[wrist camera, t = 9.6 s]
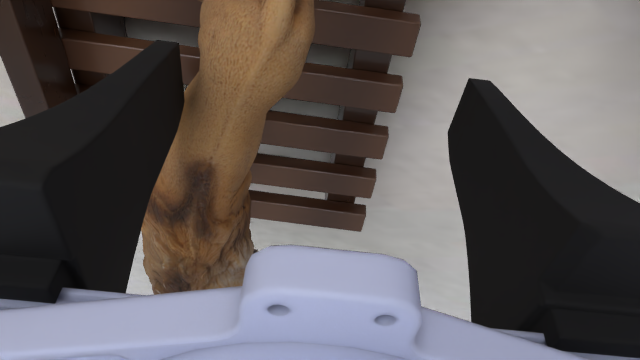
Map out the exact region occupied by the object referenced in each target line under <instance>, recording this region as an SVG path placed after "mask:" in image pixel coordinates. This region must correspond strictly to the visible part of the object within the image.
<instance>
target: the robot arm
mask: <svg viewBox="0 0 640 360" xmlns="http://www.w3.org/2000/svg"><path fill="white" fill-rule="evenodd" d="M184 103H185V99H184V88H183V78H182V68H181V58H180V48H179V43H177V42H169V41H161V40H156V41H155V42H153V43H152V44H151V45H149V46H148V47H147V48H145V49H144V50H143V51H141V52H140V53H139V54H137V55H136V56H135V57H134V58H132V59H131V60H130V61H128V62H127V63H125V64H124V65H123V66H121V67H120V68H119V69H117V70H116V71H114V72H113V73H112V74H110V75H109V76H107V77H105V78H104V79H102V80H101V81H99V82H98V83H96V84H95V85H93V86H92V87H90V88H88V89H87V90H85V91H83V92H82V93H80V94H78V95H76V96H74V97H73V98H71V99H69V100H67V101H65V102H63V103H61V104H59V105H57V106H54V107H52V108H50V109H47V110H45V111H43V112H40V113H38V114H35V115H33V116H30V117H28V118H26V119H23V120H20V121H18V122H15V123H12V124H9V125H6V126H3V127H0V360H640V203H638V202H636V201H634V200H633V199H631V198H629V197H627V196H625V195H623V194H622V193H620V192H618V191H617V190H615V189H613V188H612V187H610V186H608V185H607V184H605V183H604V182H602V181H601V180H599V179H598V178H596V177H595V176H593V175H591V174H590V173H589V172H587V171H586V170H584V169H583V168H582V167H580V166H579V165H578V164H576V163H575V162H574V161H572V160H571V159H570V158H569V157H567V156H566V155H565V154H563V153H562V152H561V151H560V150H559V149H557V148H556V147H555V146H554V145H553V144H552V143H551V142H550V141H549V140H547V139H546V138H545V137H544V136H543V135H542V134H541V133H540V132H539V131H538V130H537V129H536V128H535V127H534V126H533V125H532V124H531V123H530V122H529V121H528V120H527V119H526V118H525V117H524V116H523V115H522V114H521V113H520V112H519V111H518V110H517V109H516V108H515V106H514V105H513V104H512V103H511V102H510V101H509V100H508V99H507V98H506V97H505V96H504V95H503V93H502V92H501V91H500V90H499V89H498V88H497V87H496V86H495V85H494V84H493V83H492V82H491V81H488V80H480V79H472V78H469V79H468V82H467V84H466V87H465V90H464V92H463V95H462V97H461V100H460V102H459V105H458V107H457V110H456V112H455V115H454V118H453V120H452V123H451V125H450V128H449V130H448V147H449V159H450V165H451V170H452V175H453V179H454V184H455V188H456V193H457V197H458V201H459V206H460V210H461V215H462V219H463V224H464V230H465V237H466V247H467V257H468V269H469V282H470V301H471V322H469V321H466V320H463V319H460V318H457V317H453V316H450V315H447V314H444V313H441V312H438V311H434V310H431V309H428V308H425V307H422V306H421V303H420V294H419V285H418V276H417V271H416V270H415V269H414V268H413V267H412V266H411V265H410V264H408V263H407V262H406V261H405V260H403V259H400V258H396V257H393V256H389V255H385V254H377V253H368V252H358V251H348V250H338V249H328V248H319V247H309V246H299V245H275V246H269V247H267V248H264V249H262V250H260V251H258V252H256V253H254V254H252V255H251V257H250V259H249V261H248V263H247V265H246V268H245V273H244V279H243V285H242V286H236V287H226V288H216V289H206V290H196V291H186V292H175V293H165V294H155V295H136V294H126V289H127V284H128V280H129V276H130V271H131V267H132V263H133V259H134V254H135V251H136V247H137V243H138V239H139V235H140V231H141V227H142V224H143V220H144V217H145V213H146V210H147V206H148V203H149V199H150V197H151V194H152V191H153V188H154V186H155V184H156V181H157V179H158V176H159V174H160V172H161V169H162V167H163V165H164V162H165V160H166V157H167V155H168V153H169V150H170V148H171V145H172V143H173V141H174V138H175V136H176V133H177V131H178V127H179V123H180V120H181V116H182V111H183V107H184Z"/></svg>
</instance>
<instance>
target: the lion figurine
mask: <svg viewBox="0 0 640 360" xmlns="http://www.w3.org/2000/svg"><path fill="white" fill-rule="evenodd" d="M199 1H201V2H203V3H202V5H201V11H200V30H199V33H198V45H199V50H200V67H199V72H198V73H197V75H196V76H195V77H194V79H193V80H192V81H191V83H190V84H189V85H188V87H187V88H186V90H185V92H184V99H185V103H184V107H183V111H182V116H181V120H180V123H179V127H178V131H177V133H176V136H175V138H174V141H173V143H172V145H171V148H170V150H169V153H168V155H167V157H166V160H165V162H164V165H163V167H162V169H161V172H160V174H159V176H158V179H157V181H156V184H155V186H154V188H153V191H152V194H151V197H150V199H149V203H148V206H147V210H146V213H145V217H144V220H143V224H142V227H141V231H142V236H143V252H144V255H145V257H144V260H143V266H144V268H145V271H146V274H147V275H148V276H149V279H150V282H151V284H152V290H153V293H154V295H155V294H165V293H175V292H186V291H196V290H206V289H216V288H226V287H236V286H242V285H243V279H244V273H245V268H246V265H247V263H248V261H249V259H250V257H251V255H252V254H254V253H256V252H258V250H256V249H254V245H253V242H252V240H251V231H250V229H249V225H250V217H251V199H250V194H249V190H248V189H249V187H250V184H251V180H252V174H251V171H250V168H251V166H252V164H253V162H254V160H255V157H256V155H257V152H258V149H259V146H260V142H261V139H262V134H263V129H264V125H265V120H266V114H267V112H268V111H269V110H270V109H271V108H272V106H274V105H275V104H276V103H277V102H278V101H279V100H280V99H281V98H282V97H283V96H284V95H285V94H286V93H287V92H288V91H289V90H290V89H291V88H292V87H293V86H294V85H295V84H296V83H297V81H298V79H299V78H300V76H301V73H302V70H303V67H304V64H305V61H306V58H307V54H308V51H309V48H310V45H311V42H312V40H313V37H314V33H315V18H314V0H199Z"/></svg>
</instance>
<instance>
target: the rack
mask: <svg viewBox="0 0 640 360" xmlns="http://www.w3.org/2000/svg"><path fill="white" fill-rule="evenodd" d="M405 2H406V0H360V1H359V6H357V5H350V4H344V3H337V2H330V1H323V0H314V18H315V33H314V37H313V40H312V42H311V43H313V44H320V45H328V46H335V47H342V48H349V49H351V50H350V55H349V61H348V66H347V68H342V67H335V66H328V65H321V64H313V63H306V62H305V64H304V67H303V70H302V73H301V76H300V78H299V79H298V81H297V83H296V84H295V85H294V86H293V87H292V88H291V89H290V90H289V91H288V92H287V93H286V94H285V95H284V96H283V97H282V98H288V99H295V100H302V101H310V102H317V103H324V104H331V105H339V106H340V110H339V115H338V120H337V119H329V118H322V117H315V116H307V115H300V114H293V113H285V112H278V111H271V110H269V111H268V112H267V114H266V120H265V125H264V129H263V134H262V139H261V142H260V143H261V144H269V145H276V146H284V147H291V148H299V149H306V150H314V151H321V152H329V153H331V159H330V163H327V162H320V161H312V160H305V159H297V158H290V157H282V156H275V155H267V154H260V153H257V155H256V157H255V160H254V162H253V164H252V166H251V168H250V171H251V174H252V180H251V183H256V184H263V185H271V186H279V187H286V188H294V189H301V190H309V191H317V192H324V193H325V200H323V199H315V198H307V197H300V196H292V195H284V194H277V193H269V192H261V191H254V190H249V194H250V199H251V217H250V218H258V219H265V220H273V221H281V222H289V223H297V224H304V225H312V226H320V227H328V228H336V229H343V230H351V231H359V232H361V231H362V227H363V224H364V220H365V217H366V205H361V204H354V202H355V198H356V197H363V198H371V196H372V193H373V189H374V186H375V182H376V169H372V168H365V167H363V166H364V162H365V159H366V158H373V159H382V158H383V155H384V151H385V148H386V144H387V141H388V137H389V134H388V127H387V126H381V125H374V123H375V119H376V115H377V111H382V112H390V113H395V112H396V109H397V106H398V102H399V99H400V95H401V92H402V89H403V78H402V76H399V75H392V74H387V72H388V68H389V64H390V60H391V57H392V55H398V56H405V57H411V56H412V54H413V50H414V47H415V43H416V40H417V36H418V33H419V30H420V26H421V21H420V15H418V14H413V13H406V12H403V9H404V6H405ZM202 3H203V2H201V1H199V0H0V56H1V58H2V61H3V63H4V66H5V68H6V71H7V73H8V76H9V78H10V81H11V83H12V86H13V88H14V91H15V93H16V96H17V98H18V101H19V103H20V106H21V108H22V111H23V113H24V116H25V118H28V117H30V116H33V115H35V114H38V113H40V112H43V111H45V110H47V109H50V108H52V107H54V106H57V105H59V104H61V103H63V102H65V101H67V100H69V99H71V98H73V97H74V96H76V95H78V94H80V93H82V92H83V91H85V90H87V89H88V88H90V87H92V86H93V85H95V84H96V83H98V82H99V81H101V80H102V79H104V78H105V77H107V76H109V75H110V74H112V73H113V72H114V71H116V70H117V69H119V68H120V67H121V66H123V65H124V64H125V63H127V62H128V61H130V60H131V59H132V58H134V57H135V56H136V55H137V54H139V53H140V52H141V51H143V50H144V49H145V48H147V47H148V46H149V45H151V44H152V43H153V42H155V41H149V40H142V39H135V38H128V37H127V35H126V30H125V25H124V19H123V17H129V18H137V19H144V20H151V21H158V22H165V23H172V24H179V25H186V26H193V27H200V11H201V5H202ZM52 7H53V8H54V11H55V15H56V18H57V22H58V25H59V28H58V26H57V22H56V19H55V16H54V12H53V9H52ZM179 48H180V58H181V68H182V78H183V84H186V85H189V84H190V83H191V81H192V80H193V79H194V77H195V76H196V75H197V73H198V72H199V67H200V50H199V47H192V46H185V45H179ZM70 69H71V70H72V73H73V77H74V80H75V84H74V81H73V77H72V74H71V70H70Z"/></svg>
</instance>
